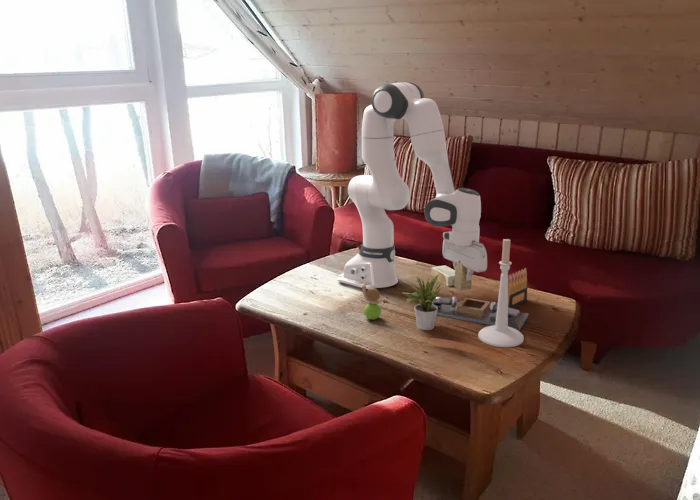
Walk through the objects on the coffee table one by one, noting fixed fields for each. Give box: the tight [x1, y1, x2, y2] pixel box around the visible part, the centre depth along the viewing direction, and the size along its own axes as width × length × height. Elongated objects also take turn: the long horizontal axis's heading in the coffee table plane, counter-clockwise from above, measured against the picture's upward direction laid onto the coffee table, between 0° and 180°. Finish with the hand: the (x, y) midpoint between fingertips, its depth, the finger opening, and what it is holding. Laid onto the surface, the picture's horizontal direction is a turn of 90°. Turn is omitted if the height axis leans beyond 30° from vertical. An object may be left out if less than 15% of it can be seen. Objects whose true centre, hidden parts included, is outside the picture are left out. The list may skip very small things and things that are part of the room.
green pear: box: [361, 281, 382, 321], centre depth 181 cm, size 5×6×12 cm
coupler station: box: [436, 297, 529, 331], centre depth 185 cm, size 32×12×4 cm, turn 61°
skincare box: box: [430, 264, 455, 287], centre depth 214 cm, size 6×4×12 cm
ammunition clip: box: [508, 267, 528, 309], centre depth 190 cm, size 11×2×12 cm, turn 133°
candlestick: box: [477, 238, 525, 348], centre depth 164 cm, size 13×13×30 cm
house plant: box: [400, 273, 447, 331], centre depth 176 cm, size 14×14×16 cm
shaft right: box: [489, 301, 521, 322], centre depth 179 cm, size 9×4×4 cm, turn 49°
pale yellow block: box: [453, 260, 472, 291], centre depth 194 cm, size 4×4×10 cm
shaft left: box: [433, 295, 458, 309], centre depth 187 cm, size 9×4×4 cm, turn 73°
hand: (462, 277), depth 194 cm, fingers closed on pale yellow block, 4 cm apart
